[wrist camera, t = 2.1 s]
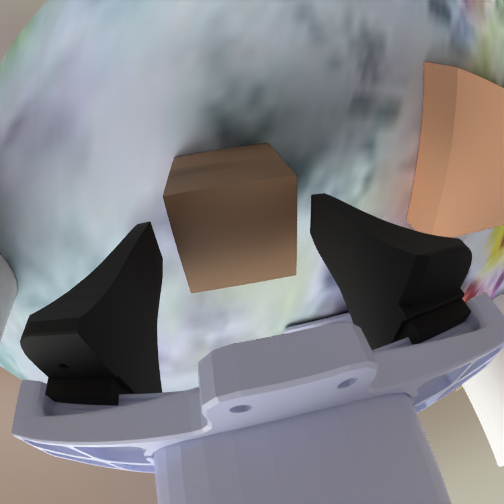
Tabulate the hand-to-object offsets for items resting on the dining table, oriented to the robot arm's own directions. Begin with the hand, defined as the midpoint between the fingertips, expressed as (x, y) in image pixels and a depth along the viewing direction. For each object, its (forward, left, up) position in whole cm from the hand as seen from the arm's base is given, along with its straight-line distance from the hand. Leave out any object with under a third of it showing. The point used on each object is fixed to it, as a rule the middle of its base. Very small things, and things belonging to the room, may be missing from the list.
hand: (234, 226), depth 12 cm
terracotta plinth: (+2, -19, -4) cm, 19 cm away
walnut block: (0, 0, -4) cm, 4 cm away
